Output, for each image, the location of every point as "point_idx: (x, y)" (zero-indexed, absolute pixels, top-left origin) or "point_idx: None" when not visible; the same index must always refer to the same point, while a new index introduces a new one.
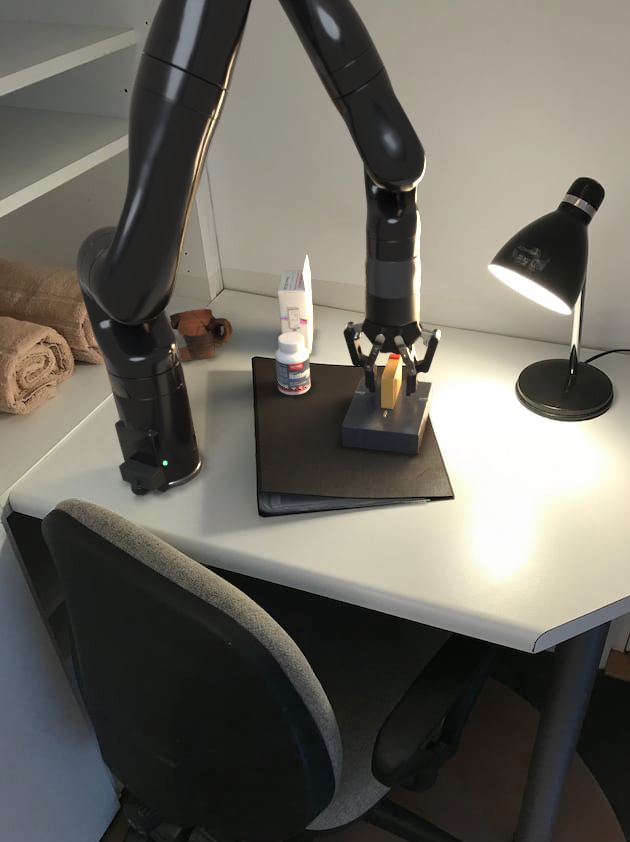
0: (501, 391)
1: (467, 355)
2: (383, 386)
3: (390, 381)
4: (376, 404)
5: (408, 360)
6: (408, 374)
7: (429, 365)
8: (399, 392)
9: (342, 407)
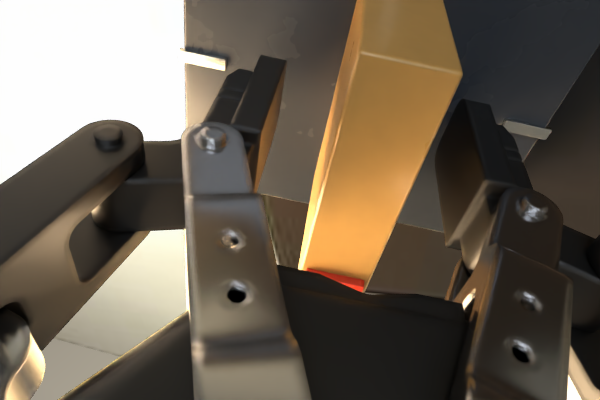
0: (6, 164)
1: (147, 304)
2: (437, 35)
3: (383, 48)
4: (457, 19)
5: (208, 199)
6: (249, 141)
7: (55, 155)
8: (323, 119)
9: (567, 110)
